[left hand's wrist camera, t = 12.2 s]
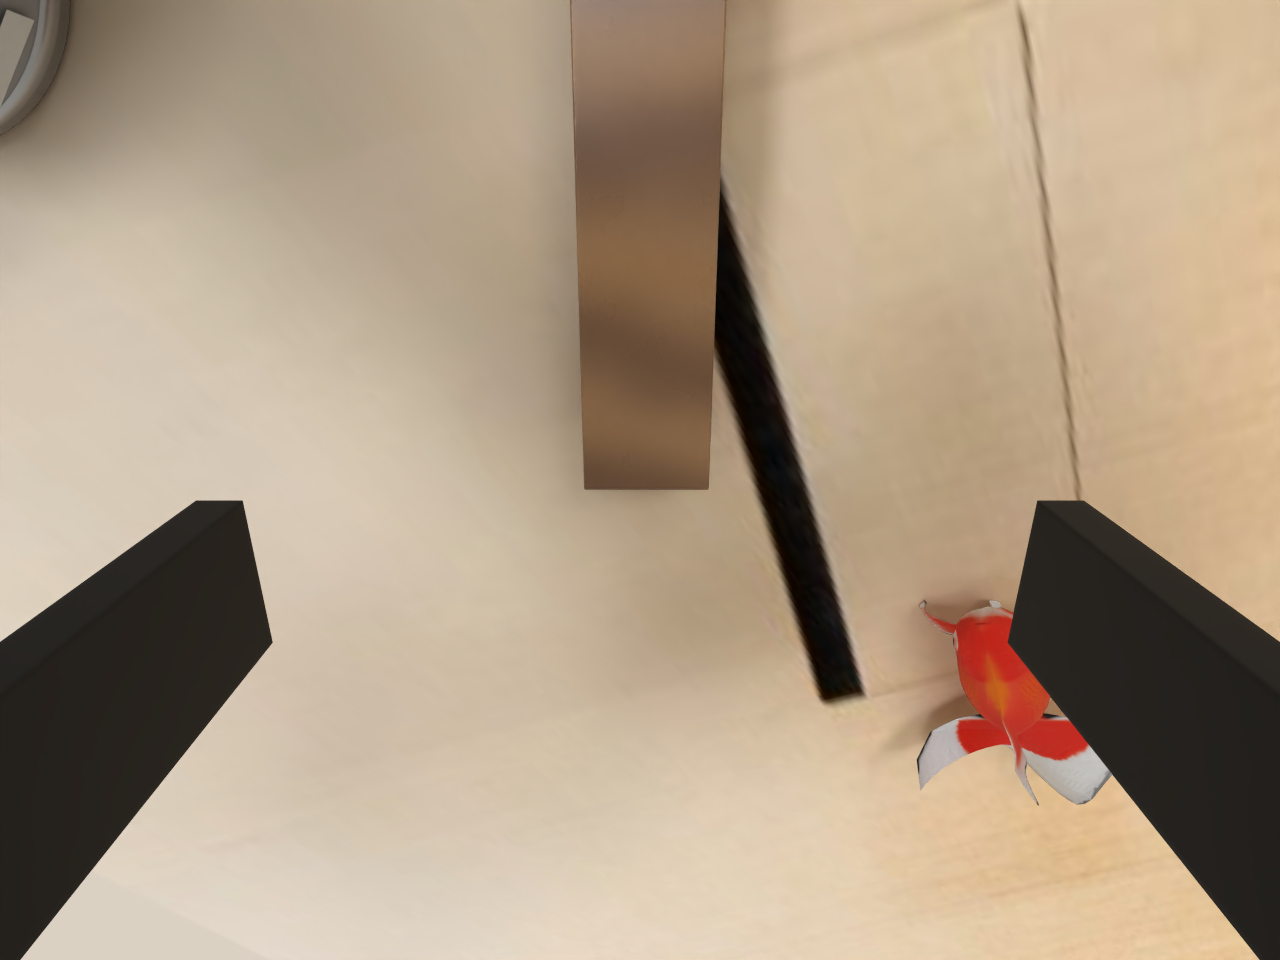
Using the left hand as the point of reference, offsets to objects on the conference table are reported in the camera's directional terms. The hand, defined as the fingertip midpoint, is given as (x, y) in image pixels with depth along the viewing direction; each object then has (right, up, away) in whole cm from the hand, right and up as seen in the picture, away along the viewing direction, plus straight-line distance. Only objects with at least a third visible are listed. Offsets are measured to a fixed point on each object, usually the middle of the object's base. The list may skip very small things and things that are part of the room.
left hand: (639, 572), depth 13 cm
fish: (+20, -9, +30) cm, 37 cm away
